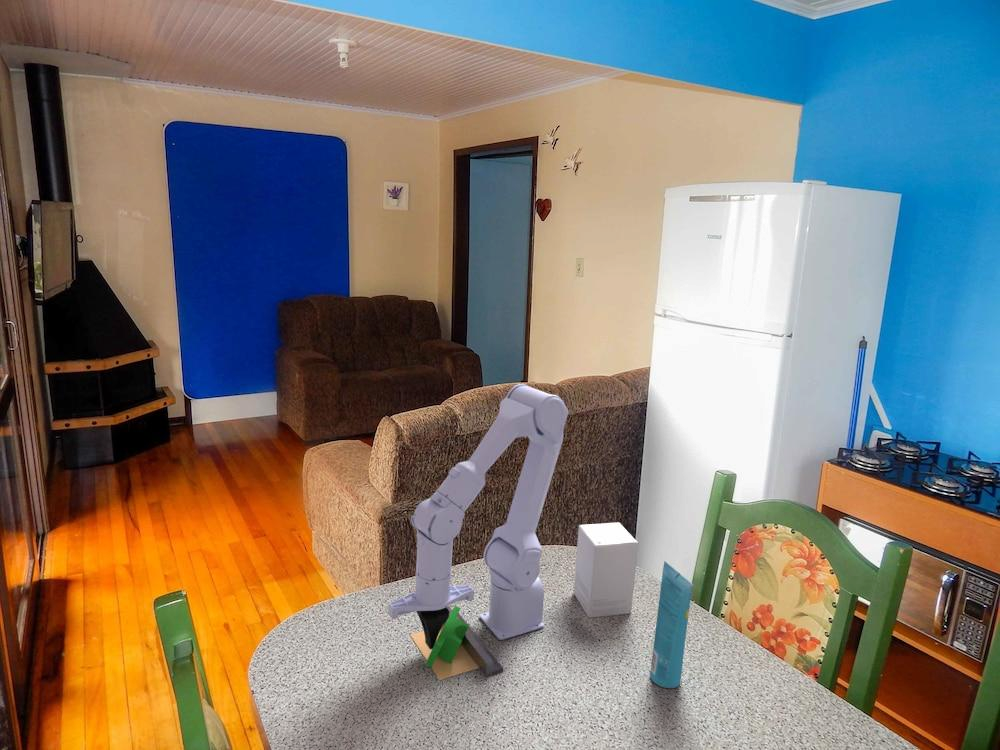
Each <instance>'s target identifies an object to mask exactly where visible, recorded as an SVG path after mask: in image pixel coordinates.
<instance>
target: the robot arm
mask: <svg viewBox="0 0 1000 750" xmlns="http://www.w3.org/2000/svg"><path fill="white" fill-rule="evenodd" d="M507 392H508V393H506V396H505V397H504V398H503V399H502V400H501V401H500V403H499V411H498V412H499V413H498V415H497V417H496V418H495V420H494V422H493V423H492V424H491V426H490V427H489V429H488V430H487V432H486V433H485V435H484V436H483V438H482V440H481V441H480V442H479V444H478V446H477V447H476V449H475V450H474V452H473V453H472V454H471V456H470V457H469V459H468V460H466V461H460V462H458V463H457V464H455V466H453V467H451V469H450V470H449V471H448V475H447V476H446V477H445V479H444V480H443V482H442V483H441V484H440V486H439V487H438V488H437V489H436V491H435V492H434V493H433V494H432V495H431V497H430V498H427V499H425V500H423V501H421V502H420V503H419V504H418V505H417V507H415V509H414V513H413V515H411V516H410V520H411V521H410V522H411V524H412V526H413V528H415V530H416V539H417V541H416V543H417V544H416V566H415V588H414V589H415V590H414V591H413V592H411V593H408V594H407V595H405V596H402V597H401V598H398V599H396V600H394V601H390V602H388V604H387V605H388V608H387V609H388V611H387V613H388V616H389V617H390V618H391V619H392V620H396V619H398V618H399V616H403V615H407V614H411V613H415V612H416V613H417V615H418V618H419V620H420V622H421V626H422V629H423V630H422V631H424V634H425V643H426V644H427V646H428V647H429V649H433V647H434V645H435V642H436V639H437V637H438V634H439V632H440V630H441V628H442V626H443V625H445V622H446V620H447V619H448V618H449V610H448V609H447V606H449V607H450V606H451V605H453V604H455V603H457V602H461V601H462V602H463V601H465V600H466V601H468V602H471V601H474V600H475V599H474V598H475V597H474V596H475V589H474V588H473V587H472V586H471V584H464V585H451V581H452V580H451V579H452V578H451V577H452V564H453V563H452V559H453V547H454V546H453V545H454V543H453V542H454V539H455V538H456V537H457V536H458V535H460V533H461V530H462V526H463V520H464V518H465V517H466V516H465V514H466V513H465V512H466V511H467V509H468V508H469V507H470V505H471V504H472V503H473V501H475V499H476V497H478V495H479V493H480V492H481V491H482V489H483V488H484V487H485V486H486V473H487V471H488V470H489V469H490V468H491V467H492V466H493V464H494V463H495V462H496V461H497V460H498V459H499V457H501V456H502V454H503V453H504V452H506V449H508V447H509V446H510V445H511V444H512V443H513V442H514V441H515V439H517V438H525V437H528V439H529V445H528V449H527V452H526V455H525V457H524V462H523V465H522V468H521V472H520V476H519V478H518V481H517V485H516V488H515V492H514V495H513V499H512V502H511V506H510V509H509V512H508V516H507V519H506V522H505V524H503V525H500V526H499V527H496V528H495V529H494V531H493V534H492V535H491V536H492V537H491V538H490V540H489V541H488V542H487V544H486V546H485V548H484V551H483V561H484V564H485V565H486V566H487V567H488V568H489V571H488V573H489V575H490V584H489V606H488V607H489V609H488V611H486V612H484V613H481V614H479V619H480V620H482V622H483V623H484V624H485V625H486V626H487V628H488V629H489V630H490V631H491V632H492V633H493V635H494V636H495V637H496V638H497V639H498V641H499V640H500V641H502V640H506V639H510V638H512V637H516V636H520V635H522V634H526V633H528V632H533V631H536V630H540V629H543V628H544V627H545V623H544V622H543V612H544V611H543V610H544V600H545V599H544V598H545V592H544V591H545V590H544V584H543V583H542V579H541V578H540V577H539V575H540V573H541V557H542V552H543V548H542V546H541V543H540V541H539V539H538V536H537V534H536V531H537V528H538V526H539V521H540V518H541V514H542V511H543V508H544V504H545V501H546V499H547V494H548V492H549V488H550V485H551V481H552V478H553V475H554V470H555V468H556V465H557V461H558V458H559V455H560V451H561V448H562V445H563V441H564V428H565V425H566V422H567V419H568V415H569V410H568V407H567V406H566V404H565V403H564V400H563V399H562V398H561V397H560V396H559V395H556V394H550V393H547V392H545V391H542V390H540V389H537V388H534V387H532V386H529V385H527V384H525V383H519V384H516V385H514V386H513V387H511V388H510V389H509V391H507Z"/></svg>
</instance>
